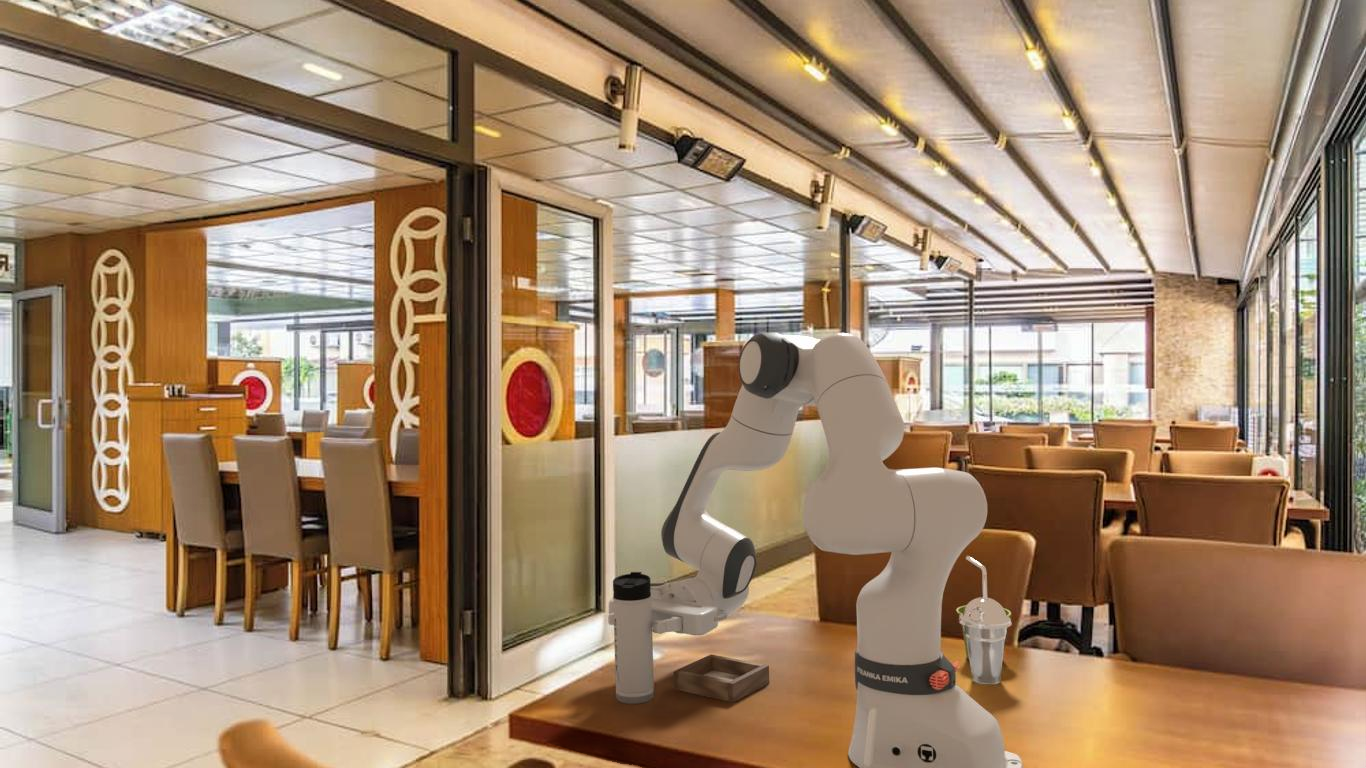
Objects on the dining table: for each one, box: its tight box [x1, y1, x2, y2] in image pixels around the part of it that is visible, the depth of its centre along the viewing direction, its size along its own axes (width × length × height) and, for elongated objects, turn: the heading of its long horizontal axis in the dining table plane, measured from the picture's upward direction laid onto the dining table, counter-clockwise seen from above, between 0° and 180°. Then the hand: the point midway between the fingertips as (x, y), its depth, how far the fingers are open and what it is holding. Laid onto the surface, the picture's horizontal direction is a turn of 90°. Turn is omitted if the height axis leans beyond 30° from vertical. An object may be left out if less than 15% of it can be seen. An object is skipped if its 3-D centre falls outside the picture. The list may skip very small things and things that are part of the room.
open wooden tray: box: [672, 654, 770, 703], centre depth 157 cm, size 12×11×3 cm
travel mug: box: [612, 571, 655, 705], centre depth 153 cm, size 6×7×20 cm
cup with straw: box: [958, 555, 1013, 685], centre depth 156 cm, size 8×9×20 cm
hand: (633, 624), depth 153 cm, fingers open, 8 cm apart
